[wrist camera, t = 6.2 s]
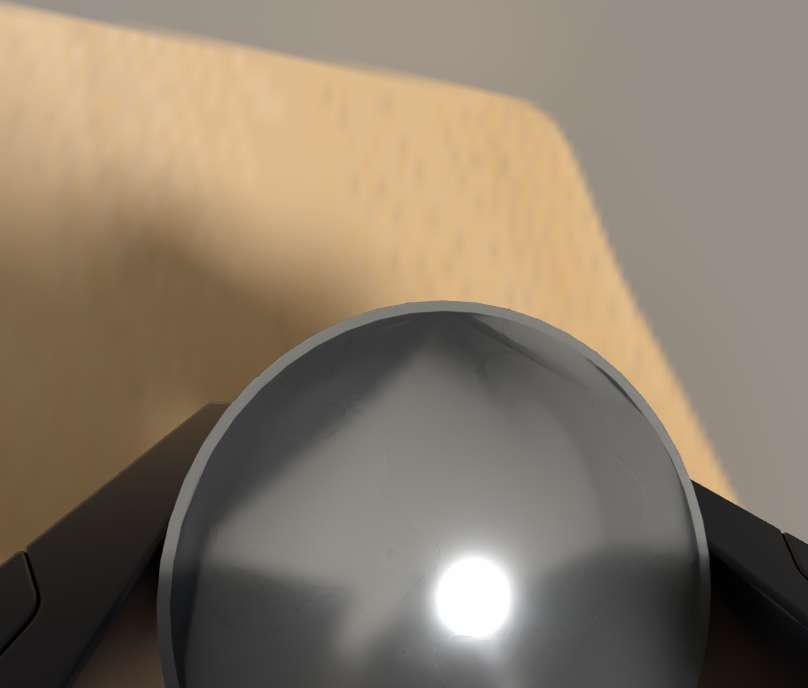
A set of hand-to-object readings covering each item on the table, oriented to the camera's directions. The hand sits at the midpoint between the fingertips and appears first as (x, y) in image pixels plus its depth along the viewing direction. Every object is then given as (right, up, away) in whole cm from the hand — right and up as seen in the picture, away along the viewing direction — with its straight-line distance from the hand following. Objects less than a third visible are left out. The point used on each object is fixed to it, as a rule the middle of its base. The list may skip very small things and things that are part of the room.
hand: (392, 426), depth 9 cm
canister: (-1, -2, +6) cm, 7 cm away
